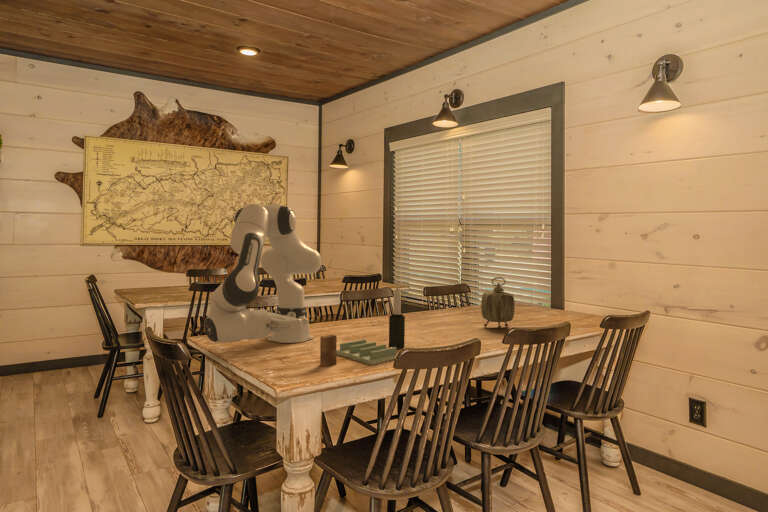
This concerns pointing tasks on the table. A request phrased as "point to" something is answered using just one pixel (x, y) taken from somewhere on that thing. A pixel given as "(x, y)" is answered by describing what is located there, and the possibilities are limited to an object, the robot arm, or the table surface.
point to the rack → (367, 351)
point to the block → (328, 350)
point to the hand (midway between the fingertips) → (298, 319)
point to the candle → (396, 323)
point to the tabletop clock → (497, 305)
